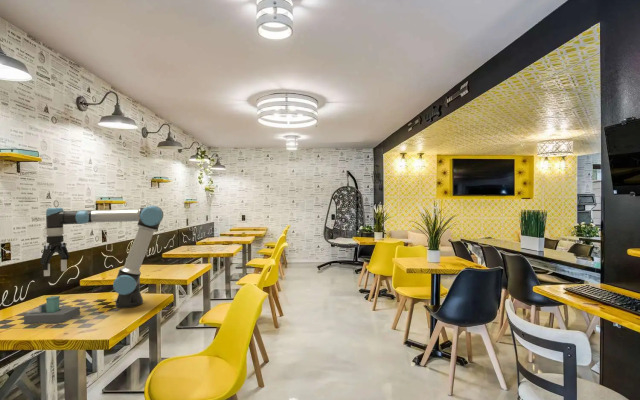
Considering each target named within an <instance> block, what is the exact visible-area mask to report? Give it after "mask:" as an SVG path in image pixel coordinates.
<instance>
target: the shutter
mask: <svg viewBox="0 0 640 400" xmlns="http://www.w3.org/2000/svg"><path fill="white" fill-rule="evenodd" d="M46 310H47V302H45V303H42V304H40V305H39V306H38V307H34V308H32V309H29V310H28V311H26V314H29V313H42V312H44V311H46Z"/></svg>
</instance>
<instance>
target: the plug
mask: <svg viewBox="0 0 640 400" xmlns="http://www.w3.org/2000/svg"><path fill="white" fill-rule="evenodd" d="M60 298H61V296H60V295H52V296H49V297H45V300H46V303H47V313H55V312H57V311H59V307H60Z"/></svg>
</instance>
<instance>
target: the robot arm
mask: <svg viewBox="0 0 640 400" xmlns="http://www.w3.org/2000/svg"><path fill="white" fill-rule="evenodd" d="M45 212H46V216H45V223H46V243H47V245H43V252H42V255H41V258H40V261H39V264H41V265H43V267H42V269H43V277H50V276H51V264H50V261H51V260H52V258H53V255H54V254H55V253H57V254H58V255H59V257H60V258H61V260H60V271H61V272H67V271H68V268H67V267H68V260H69V259H70V253H69V252H68V249H67V246H66V245H67V244H66V242H64V225H83V224H93V223H94V224H95V223H121V222H123V223H124V222H125V223H126V222H138V223H137V225H136V226H137V227H138V230H137V232H136V235H135V237H134V239H133V243H132V245H131V248H130V250H129V252H128V254H127V258H126V259H125V263H124V266H122V267H120V268H119V270H118V273H117V275H116V277H115V279H114V280H113V284H112V287H113V288H112V289H113V290H114V292H116V294H118V295H117V298H116V300H115V308H118V309H128V308H134V307H138V305H139V306H141V305H143V304H144V298H143V296H142V294H141V287H140V286H141V284H140V283H141V282H140V281H141V280H140V278H141V277H140V276H141V273H142V272H141V270H140V269H141V267H142V264H143V261H144V259H145V256H146V254H147V251H148V248H149V246H150V243H151V241H152V239H153V236H154V233H155V232H157V231H158V230H159V227H160V225H161V222H162V220H163V218H164V212H163V210H162V209H161V208H160V207H159V206H157V205H147V206H146V207H139V208H138V209H137V208H136V209H99V210H97V209H96V210H90V209H89V210H86V209H85V210H84V209H83V210H67V211H66V210H64V208H63V207H50V208H49V207H48V208H47V209H46V211H45ZM142 303H143V304H142ZM140 304H141V305H140Z"/></svg>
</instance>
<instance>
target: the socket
mask: <svg viewBox="0 0 640 400" xmlns="http://www.w3.org/2000/svg"><path fill="white" fill-rule="evenodd" d="M80 314H81V306H59V311H57V312H55V313H47V310H46V311H44V312H42V313H26V314H24V315H23V324H24V325H31V324H32V325H37V324H38V325H39V324H41V325H43V324H64V323H66V322H67V321H70V320H72V319H74V318H76V317H79V316H80Z"/></svg>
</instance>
